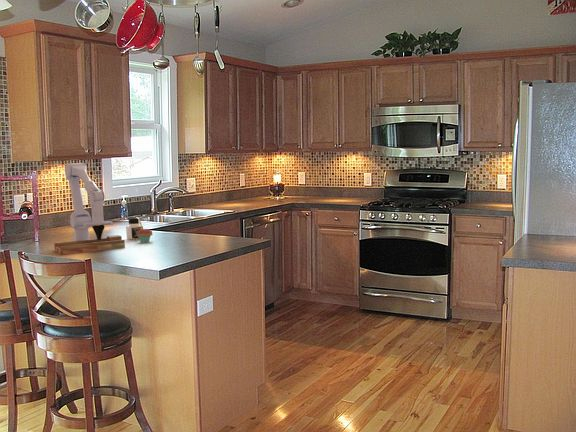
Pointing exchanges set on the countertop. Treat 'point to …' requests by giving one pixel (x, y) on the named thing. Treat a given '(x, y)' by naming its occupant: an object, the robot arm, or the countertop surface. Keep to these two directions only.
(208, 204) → the countertop surface
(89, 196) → the robot arm
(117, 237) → the walnut block
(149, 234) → the cupcake
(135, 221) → the medicine bottle
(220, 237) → the countertop surface
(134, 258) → the countertop surface
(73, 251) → the box
